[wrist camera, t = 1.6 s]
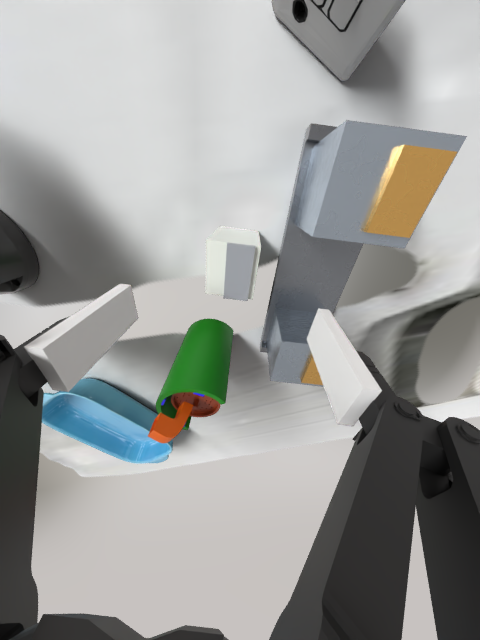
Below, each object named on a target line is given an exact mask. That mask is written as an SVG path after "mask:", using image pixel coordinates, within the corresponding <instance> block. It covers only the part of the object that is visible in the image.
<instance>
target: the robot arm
mask: <svg viewBox="0 0 480 640" xmlns="http://www.w3.org/2000/svg"><path fill="white" fill-rule="evenodd" d="M38 274H39V265H38V260H37V257H36V254H35V252H34V250H33V248H32V246H31V244H30V243H29V241H28V240H27V238H26V237H25V235H24V234H23V233H22V232H21V230H20V229H19V228H18V227H17V226H16V225H15V224H14V223H13V222H12V221H11V220H10V219H9V218H8V217H7V216H6V215H5V214H3V213H2V212H1V211H0V294H9V293H13V292H17V291H20V290H22V289H24V288H27V287H29V286H31V285H32V284H34V283H35V281H36V280H37V278H38ZM137 319H138V315H137V311H136V306H135V301H134V297H133V292H132V288H131V285H127V284H119V285H117V286H116V287H114V288H113V289H111V290H109V291H108V292H106V293H105V294H103V295H102V296H100V297H99V298H97V299H96V300H94V301H93V302H91V303H90V304H88V305H87V306H85V307H84V308H82V309H81V310H79V311H78V312H76V313H75V314H73V315H72V316H69V317H67V318H64V319H62V320H59V321H57V322H56V323H54V324H53V325H51V326H50V327H49V328H46V329H45V330H43V331H42V333H39V334H37V335H36V336H34V337H32V338H31V339H29V340H28V341H26V342H25V343H23V344H21V345H20V346H18V347H17V348H15V349H13V348H12V347H11V345H10V344H9V342H8V341H7V340H6V338H5V337H4V336H2V335H0V640H228V639H227V638H225V637H224V635H223V634H222V632H221V631H220V630H219V629H213V628H204V627H196V626H187V625H185V626H182V627H179V628H177V629H174V630H171V631H168V632H166V633H163V634H160V635H157V636H155V637H152V638H144V637H142V636H141V635H140V634H139V633H137V632H136V631H134V630H133V629H132V628H130V627H129V626H128V625H126V624H125V623H123V622H122V621H121V620H119V619H118V618H116V617H108V616H99V615H90V614H43V616H42V618H41V620H40V622H39V623H37V617H38V616H37V615H38V593H37V586H36V584H35V581H34V579H33V576H32V573H31V557H32V545H33V532H34V531H33V530H34V517H35V504H36V491H37V477H38V464H39V451H40V437H41V424H42V410H43V397H44V392H43V390H42V388H41V387H42V386H43V385H44V384H45V383H47V382H48V384H49V385H50V387H51V388H52V390H57V391H65V392H69V391H70V390H71V389H72V388H73V387H74V386H75V385H76V384H77V383H78V381H79V380H80V379H81V378H82V377H83V376H84V375H85V374H86V373H87V372H88V371H89V370H90V369H91V368H92V367H93V366H94V365H95V363H96V362H97V361H98V360H99V359H100V358H101V357H102V356H103V355H104V354H105V353H106V352H107V351H108V350H109V349H110V348H111V347H112V345H113V344H114V343H115V342H116V341H117V340H118V339H119V338H120V337H121V336H122V335H123V334H124V333H125V332H126V331H127V329H128V328H129V327H130V326H131V325H132V324H133V323H134V322H135V321H136V320H137ZM307 342H308V344H309V347H310V350H311V353H312V355H313V358H314V361H315V364H316V366H317V369H318V372H319V375H320V377H321V380H322V383H323V386H324V388H325V391H326V394H327V397H328V399H329V402H330V405H331V408H332V410H333V413H334V416H335V419H336V421H337V424H338V425H346V426H354V425H355V423H356V422H357V421H358V420H359V421H360V423H361V425H362V427H363V428H362V429H361V430H360V431H359V432H358V433H357V434H356V436H355V437H354V438H353V440H354V441H355V440H356V441H355V443H354V446H353V448H352V450H351V453H350V456H349V458H348V460H347V463H346V465H345V468H344V470H343V473H342V475H341V477H340V480H339V482H338V485H337V487H336V490H335V492H334V495H333V497H332V499H331V502H330V504H329V507H328V509H327V512H326V514H325V517H324V519H323V521H322V524H321V527H320V529H319V531H318V534H317V536H316V538H315V541H314V543H313V546H312V548H311V551H310V553H309V555H308V558H307V560H306V563H305V565H304V568H303V570H302V573H301V575H300V577H299V580H298V583H297V585H296V587H295V590H294V592H293V594H292V597H291V599H290V601H289V603H288V605H287V606H286V608H285V609H284V611H283V612H282V614H281V616H280V617H279V619H278V621H277V623H276V625H275V628H274V630H273V632H272V634H271V637H270V639H269V640H401V638H402V629H403V619H404V610H405V600H406V591H407V582H408V572H409V563H410V553H411V544H412V534H413V525H414V516H415V506H416V509H417V515H418V521H419V526H420V533H421V539H422V545H423V552H424V558H425V564H426V570H427V576H428V582H429V588H430V594H431V601H432V606H433V612H434V619H435V625H436V631H437V637H438V640H480V430H478V429H477V428H476V427H474V426H473V425H471V424H469V423H467V422H465V421H464V420H462V419H459V418H455V417H449V418H447V419H446V420H445V421H444V422H442V423H441V422H439V421H436V420H433V419H431V418H428V417H425V416H423V415H422V414H421V412H420V411H419V410H418V409H417V408H416V407H415V406H414V405H413V404H411V403H410V402H408V401H407V400H405V399H402V398H400V397H397V396H396V395H395V393H394V392H393V391H392V389H391V388H390V386H389V385H388V383H387V382H386V381H385V379H384V378H383V376H382V375H381V374H380V372H379V371H378V369H377V368H375V365H374V364H373V362H372V361H371V359H370V358H369V357H367V356H366V355H365V354H364V353H363V352H358V351H356V350H355V349H354V347H353V345H352V344H351V342H350V341H349V339H348V338H347V336H346V335H345V333H344V332H343V330H342V329H341V327H340V326H339V324H338V323H337V321H336V319H335V318H334V316H333V315H332V313H331V312H330V310H327V309H319V308H318V310H317V313H316V316H315V318H314V321H313V324H312V326H311V329H310V331H309V334H308V337H307Z"/></svg>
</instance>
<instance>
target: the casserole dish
mask: <svg viewBox="0 0 480 640" xmlns="http://www.w3.org/2000/svg"><path fill="white" fill-rule="evenodd" d="M157 416H158V414H157V413H155V412H154V411H152V410H150V409H149V408H147V407H146V406H144V405H142V404H141V403H139V402H137V401H136V400H134V399H133V398H131V397H129V396H128V395H126V394H124V393H123V392H121V391H119V390H117V389H116V388H114V387H112V386H110V385H109V384H107V383H105V382H103V381H100V380H97V379H81V380H79V381H78V383H77V384H76V385H75V386H74V387H73V388H72V389H71V390H70V391H69V392H65V391H59V392H57V393H55V394H52V393H44V397H43V410H42V423H44V424H45V425H47V426H49V427H51V428H52V429H54V430H56V431H58V432H61V433H63V434H65V435H67V436H69V437H71V438H74V439H76V440H78V441H80V442H82V443H85V444H87V445H89V446H91V447H93V448H96V449H98V450H100V451H102V452H104V453H107V454H109V455H111V456H114V457H116V458H118V459H121V460H123V461H127V462H131V463H159V462H163V461H165V460H167V459H168V457H169V456H168V455H169V454H170V453H171V452H172V446H173V439H172V440H171V441H170V442H168V443H160V442H157V441H155V440H153V439H152V438H150V437H148V434H149V432H150V430H151V427H152V425H153V422H154V420H155V418H156V417H157Z"/></svg>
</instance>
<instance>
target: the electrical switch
mask: <svg viewBox="0 0 480 640" xmlns="http://www.w3.org/2000/svg"><path fill="white" fill-rule="evenodd" d="M404 2H405V0H272V7H273V11H274V13H275V15H276V16H277V17H278V18H279V19H280V20H281V21H282V22H283V23H284V24H285V25H286V26H287V27H288V28H289V29H290V30H291V31H292V32H293V33H294V34H295V35H296V36H297V37H298V38H299V39H300V40H301V41H302V42H303V43H304V44H305V45H306V46H307V47H308V48H309V49H310V50H311V51H312V52H313V53H314V54H315V55H316V56H317V57H318V58H319V59H320V60H321V61H322V62H323V63H324V64H325V65H326V66H327V67H328V68H329V69H330V70H331V71H332V72H333V73H334V74H335V75H336V76H337V77H338V78H339V79H340V80H341V81H344V80H348V79H349V77H350V76H351V75H352V74H353V72H354V71H355V70H356V68H357V67H358V66H359V64H360V63H361V61H362V60H363V59H364V57H365V56H366V54H367V53H368V52H369V50H370V49H371V48H372V46H373V45H374V43H375V42H376V41H377V39H378V38H379V36H380V35H381V34H382V32H383V31H384V30H385V28H386V27H387V25H388V24H389V23H390V21H391V20H392V18H393V17H394V16H395V14H396V13H397V12H398V10H399V9H400V7H401V6H402V5H403V3H404Z"/></svg>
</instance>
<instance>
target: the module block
mask: <svg viewBox="0 0 480 640" xmlns="http://www.w3.org/2000/svg"><path fill="white" fill-rule="evenodd" d="M260 251H261V243H260V237H259V231H256V230H248V229H240V228H232V227H224V226H219V227H218V228H217V229H216V230H215V231H214V232H213V233H212V234H211V235H210V236H209V237H208V238H207V239H206V294H212V295H221V296H224V298H226V299H235V300H243V301H248V299H253V294H254V288H255V282H256V276H257V269H258V263H259V257H260Z"/></svg>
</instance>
